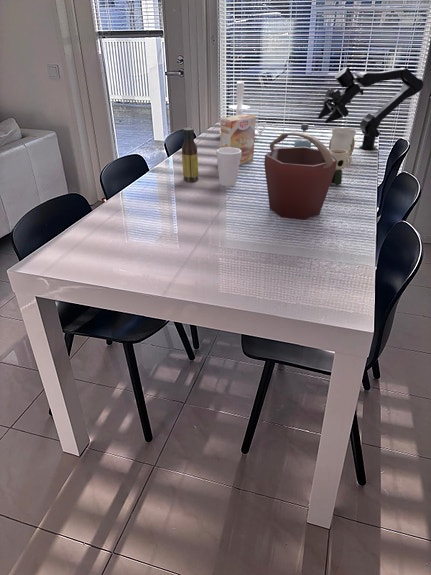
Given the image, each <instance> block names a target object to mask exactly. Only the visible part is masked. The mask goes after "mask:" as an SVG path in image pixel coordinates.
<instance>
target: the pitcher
mask: <svg viewBox="0 0 431 575" xmlns="http://www.w3.org/2000/svg"><path fill="white" fill-rule="evenodd" d="M356 133H357V131H356V130H355V129H352V128H345V127H337V128H335V127H334V128H332V129H331V138H330V140H329V144H328V150H330V149H343V150H346V151H348V155H347V157H351V156H352V154H353V153H354V149H355V144H356V142H355V137H356ZM347 161H349V159H347V160H346V162H347Z"/></svg>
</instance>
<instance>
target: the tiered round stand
mask: <svg viewBox="0 0 431 575" xmlns="http://www.w3.org/2000/svg"><path fill="white" fill-rule="evenodd" d="M293 147H308V148H312V143H311V142H310V141H309V140H308V139H305V138H298V139H294V145H293Z"/></svg>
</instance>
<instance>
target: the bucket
mask: <svg viewBox="0 0 431 575" xmlns="http://www.w3.org/2000/svg"><path fill="white" fill-rule="evenodd" d="M289 136H293V137H294V136H295V137H296V136H297V137H299V138H302V139H307V140H309V141H310V142H311V144H313V146H314V147H316V148H313V147H311V148H308V147H294V146H293V147H291V146H289V147H288V146H287V147H286V146H285V147H276V144H279V143H281V142H282V141H284V140H285V139H286V138H287V137H289ZM269 143H270V144H269V149H270V151H269V152H267V153H266V154H264V162H263V163H264V164H263V166H264V172H265V174H264V175H265V180H266V188H267V189H266V190H267V196H268V204H269V210H270V211H272V212H273V213H274V214H276V215H277V216H279V217H280V218H283V219H290V220H291V219H293V220H302V221H305V220H307V219H311V218H314V217H318V216H320V213H321V211H322V208H323V206H324V203H325V201H326V197H327V195H328V192H329V189H330V187H331V185H330V184H331V182H332V179H333V176H334V173H335V171H336V164H337V160H336V159H335V157H334V156H333V154H332V153H331V152H329V148H327V146H325V144H324V143H322V141H321V140H320V139H318V138H317V137H315V136H313V135H311V134H307V133H306V132H286V133H282V134H280V135H279V136H278V137H277V138H275V139H274V140H273V141H272V142H269Z"/></svg>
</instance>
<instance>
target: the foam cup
mask: <svg viewBox="0 0 431 575" xmlns="http://www.w3.org/2000/svg"><path fill="white" fill-rule="evenodd" d="M240 158H241V150H240V149H238V148H232V147H225V148H220V147H219V148H218V149H216V160H217V168H218V178H219V185H220V186H222V187H228V188H230V187H234V186H236V185H237V183H238V182H237V181H238V175H239V169H240V165H239V164H240Z"/></svg>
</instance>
